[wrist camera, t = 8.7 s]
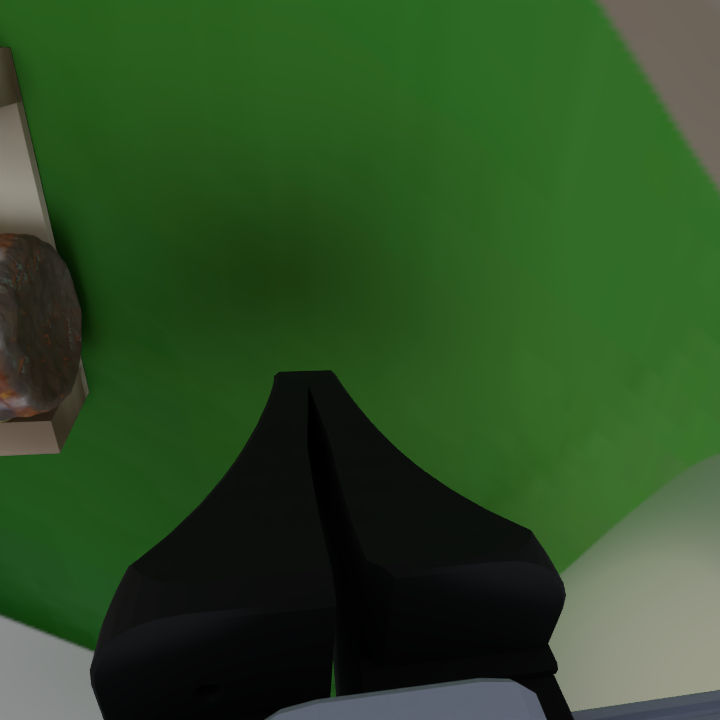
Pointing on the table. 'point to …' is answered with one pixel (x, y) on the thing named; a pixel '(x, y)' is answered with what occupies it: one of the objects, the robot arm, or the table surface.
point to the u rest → (30, 216)
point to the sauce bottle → (36, 327)
